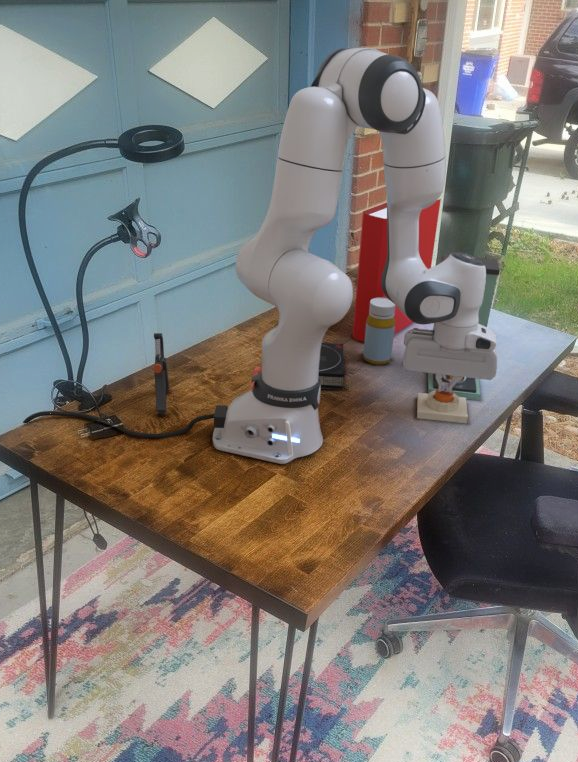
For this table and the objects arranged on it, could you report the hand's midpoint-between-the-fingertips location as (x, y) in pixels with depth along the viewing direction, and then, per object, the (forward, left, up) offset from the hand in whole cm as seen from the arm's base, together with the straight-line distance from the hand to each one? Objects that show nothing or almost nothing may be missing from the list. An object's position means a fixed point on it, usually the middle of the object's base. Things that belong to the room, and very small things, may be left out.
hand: (444, 391), depth 161 cm
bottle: (-16, +23, -5) cm, 29 cm away
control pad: (0, 0, -5) cm, 5 cm away
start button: (0, 0, -2) cm, 2 cm away
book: (-14, +45, -5) cm, 48 cm away
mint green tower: (+3, +16, -5) cm, 18 cm away
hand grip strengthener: (-61, -10, -5) cm, 62 cm away
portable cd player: (-32, +12, -5) cm, 35 cm away
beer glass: (+3, +13, -3) cm, 14 cm away
